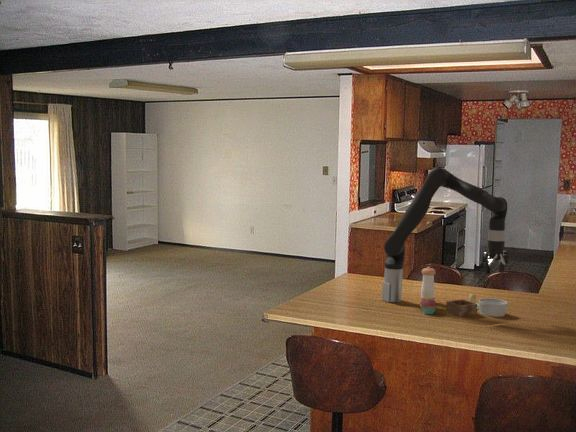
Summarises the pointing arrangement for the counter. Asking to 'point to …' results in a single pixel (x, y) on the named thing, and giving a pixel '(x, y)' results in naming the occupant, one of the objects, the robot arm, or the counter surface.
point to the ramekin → (492, 307)
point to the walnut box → (461, 308)
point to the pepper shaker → (427, 284)
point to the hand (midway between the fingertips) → (494, 273)
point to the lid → (473, 299)
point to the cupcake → (428, 305)
